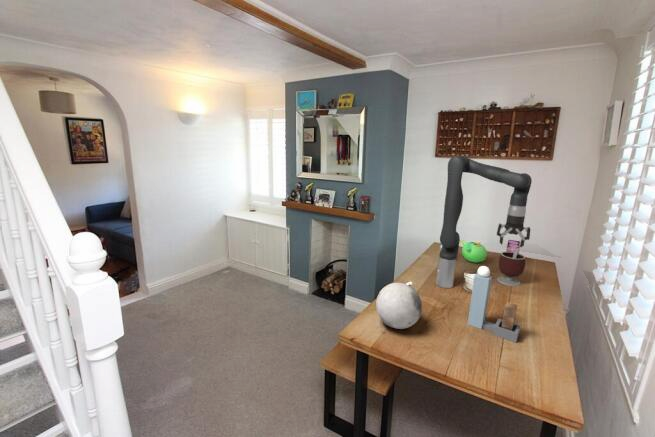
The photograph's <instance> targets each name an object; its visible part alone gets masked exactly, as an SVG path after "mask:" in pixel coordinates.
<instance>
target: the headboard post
mask: <svg viewBox="0 0 655 437" xmlns="http://www.w3.org/2000/svg"><path fill="white" fill-rule="evenodd" d="M492 278H493V275H491V271H490V268H489V267H488V266H485V265H481V266H479V268H478V269H477V272H476V274H475V275H474V277H473V284H472V291H471V298H470V304H469V313H468V320H467V325H469V326H472V327H475V328H478V329H479V330H482V329H484V330H486V331H490V332H493V333H492V335H493V336H496V337H498V338H502V339H505V340H508V341H510V342H513V343H517V341H518V338H519V335H520V330H521V324H517V323H515V322H514V326H513V331H510V330H507V329H504V328H501V327H502V321H503V318H497V321H496V322H495V323H493V322H491V321H488V320H486V317H487V310H488V305H489V304H488V303H489V298H490V290H491V284H492Z"/></svg>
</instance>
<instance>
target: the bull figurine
mask: <svg viewBox="0 0 655 437" xmlns="http://www.w3.org/2000/svg"><path fill="white" fill-rule="evenodd" d="M406 284H407V285H409V286H410V287H412V288H414V287H415V285H414V283H413V282H412V281H407V282H406Z"/></svg>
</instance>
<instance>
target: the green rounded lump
mask: <svg viewBox="0 0 655 437" xmlns="http://www.w3.org/2000/svg"><path fill="white" fill-rule="evenodd" d="M459 243H461V244H462V245H463V246H462V248H461V255H462V256H463V257H464V259H466V261H468V262H471V263H481V262H483V261H484V260H485V259H487V257H488V251H487V249H486V247H485V246H484V245H483V244H481V242H480V241H476V242H475V241H469V242H467V241H464V240H462V239H460V242H459Z"/></svg>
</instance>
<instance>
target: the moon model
mask: <svg viewBox="0 0 655 437" xmlns="http://www.w3.org/2000/svg"><path fill="white" fill-rule="evenodd" d="M376 297H377V298H376V299H375V300H376V301H375V302H376V303H375V305H376V306H375V307H376V312H377V315H378V317H379V318H380V320H381V321H382V322H383V323H384V324H385V325H387V326H388V327H390V328H393V329H397V330H398V329H399V330H403V329H407V328H410V327H412V326H414V325H415V323H417V322H418V320H419V318H420V317H421V314H422V311H423V310H422V309H423V306H422V304H423V303H422V300H421V297H420V295H419V293H418V292H417V291H416V290H415V288H414V287H410V286H409V285H407V283H403V282H391V283H389V284H387V285H386V286H384V287H383V288H382V289H381V290H380V291H379V293H378V295H377V296H376Z"/></svg>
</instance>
